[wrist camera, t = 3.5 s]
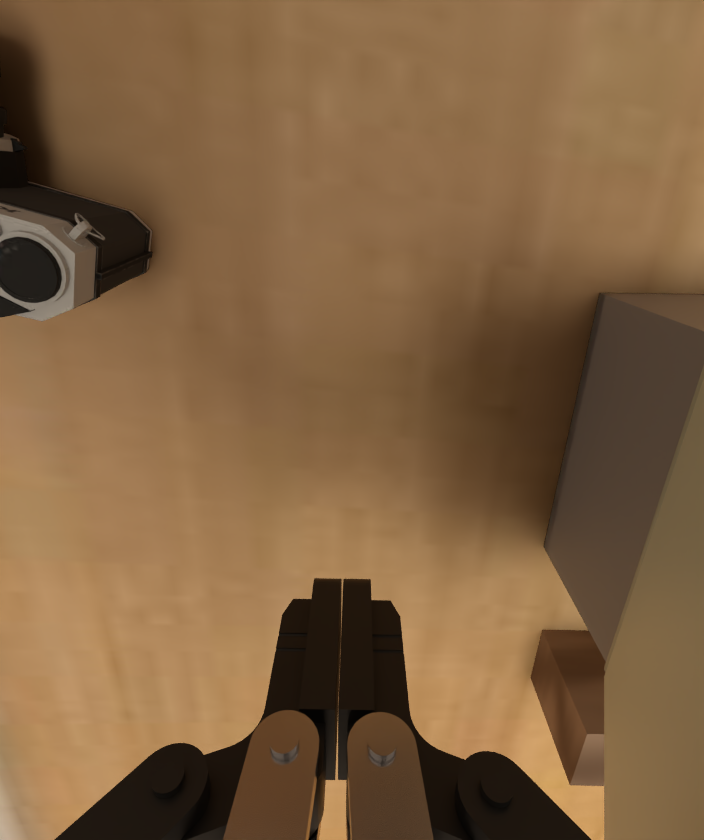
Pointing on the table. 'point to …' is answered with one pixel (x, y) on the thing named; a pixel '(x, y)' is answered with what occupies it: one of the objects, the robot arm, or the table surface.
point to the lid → (661, 666)
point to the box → (622, 446)
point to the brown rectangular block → (573, 701)
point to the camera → (60, 242)
